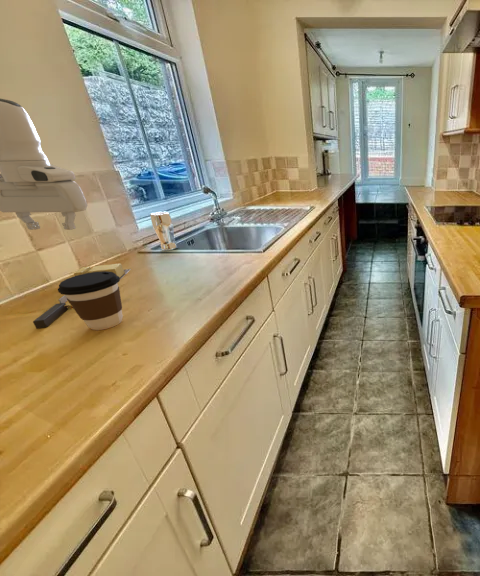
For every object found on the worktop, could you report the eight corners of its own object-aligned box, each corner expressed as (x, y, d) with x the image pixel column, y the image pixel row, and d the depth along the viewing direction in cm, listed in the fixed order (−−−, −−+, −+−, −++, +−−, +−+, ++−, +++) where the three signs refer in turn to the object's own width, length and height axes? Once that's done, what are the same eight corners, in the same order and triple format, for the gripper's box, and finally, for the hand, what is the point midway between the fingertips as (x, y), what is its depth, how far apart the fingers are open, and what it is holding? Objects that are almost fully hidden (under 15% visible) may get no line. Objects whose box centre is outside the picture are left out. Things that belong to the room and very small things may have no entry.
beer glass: (182, 245, 140) (172, 211, 133) (173, 250, 133) (163, 214, 127) (165, 246, 139) (155, 211, 133) (156, 251, 133) (145, 215, 127)
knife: (46, 327, 77) (41, 316, 75) (36, 328, 76) (30, 317, 75) (87, 292, 95) (83, 283, 93) (79, 293, 94) (75, 284, 93)
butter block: (91, 282, 98) (87, 271, 97) (99, 275, 103) (95, 265, 102) (118, 279, 101) (114, 268, 99) (124, 273, 105) (121, 263, 104)
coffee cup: (117, 310, 85) (100, 268, 80) (143, 317, 81) (128, 274, 76) (66, 330, 75) (44, 283, 70) (94, 339, 72) (73, 291, 67)
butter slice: (78, 283, 97) (73, 272, 96) (86, 277, 102) (82, 267, 101) (86, 282, 98) (81, 272, 97) (94, 276, 103) (89, 266, 101)
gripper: (-30, 174, 75) (0, 232, 80) (56, 174, 74) (80, 232, 80) (0, 172, 80) (25, 226, 86) (80, 172, 80) (100, 226, 86)
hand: (52, 229), depth 83 cm, fingers open, 8 cm apart
